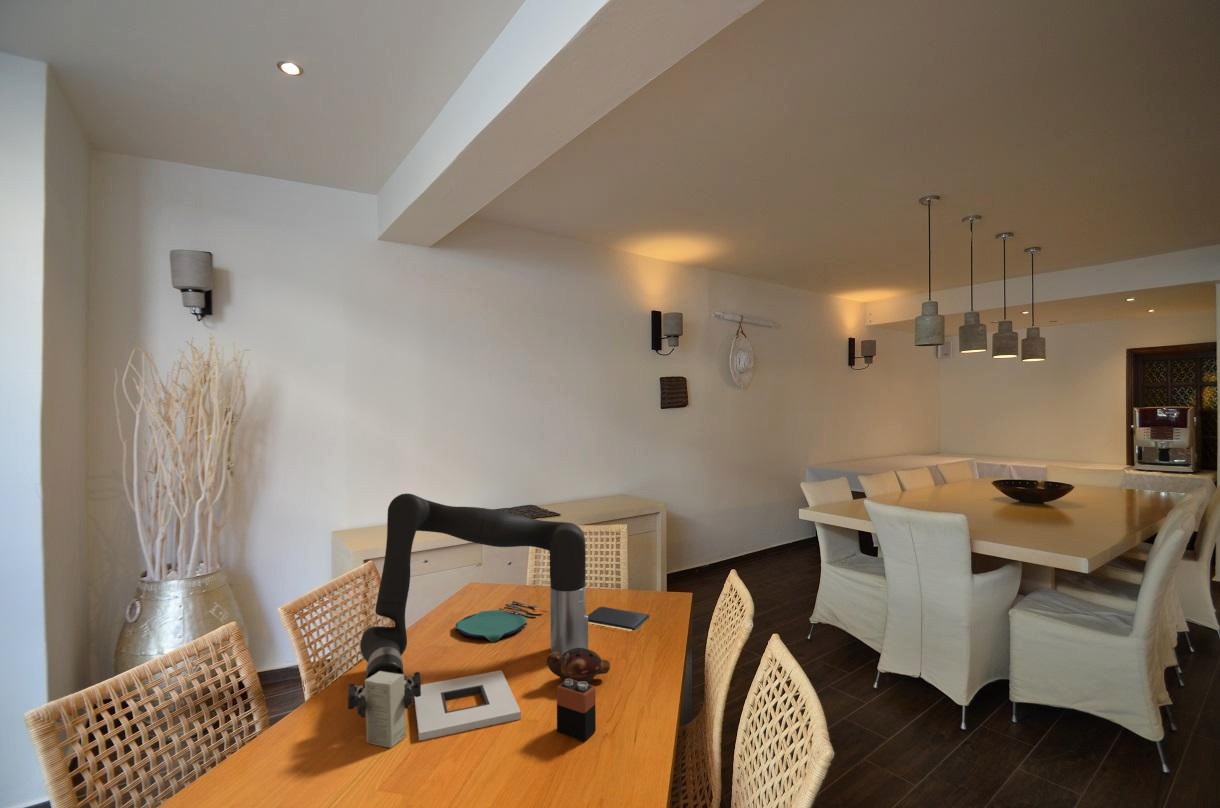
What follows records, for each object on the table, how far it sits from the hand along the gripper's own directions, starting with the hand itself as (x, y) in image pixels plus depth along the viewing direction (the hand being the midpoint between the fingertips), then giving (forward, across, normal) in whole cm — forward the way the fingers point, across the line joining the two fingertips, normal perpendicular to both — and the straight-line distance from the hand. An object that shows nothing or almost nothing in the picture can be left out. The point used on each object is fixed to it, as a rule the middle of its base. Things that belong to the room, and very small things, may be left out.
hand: (385, 707), depth 108 cm
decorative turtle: (-9, +42, +8) cm, 44 cm away
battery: (+10, +35, +8) cm, 37 cm away
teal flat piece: (-53, +33, +8) cm, 63 cm away
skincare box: (-2, 0, +7) cm, 8 cm away
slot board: (-9, +16, +7) cm, 20 cm away
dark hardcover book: (-41, +65, +8) cm, 77 cm away
